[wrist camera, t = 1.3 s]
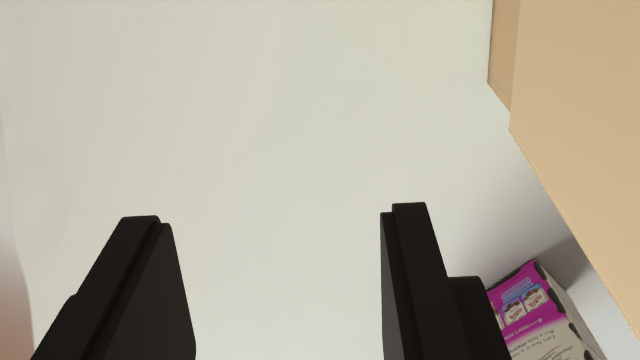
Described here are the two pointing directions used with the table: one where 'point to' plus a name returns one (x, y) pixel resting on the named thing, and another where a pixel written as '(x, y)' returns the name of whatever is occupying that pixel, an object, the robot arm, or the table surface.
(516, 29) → the cardboard box
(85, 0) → the table surface
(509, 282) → the candy bar box
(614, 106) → the box lid
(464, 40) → the table surface
